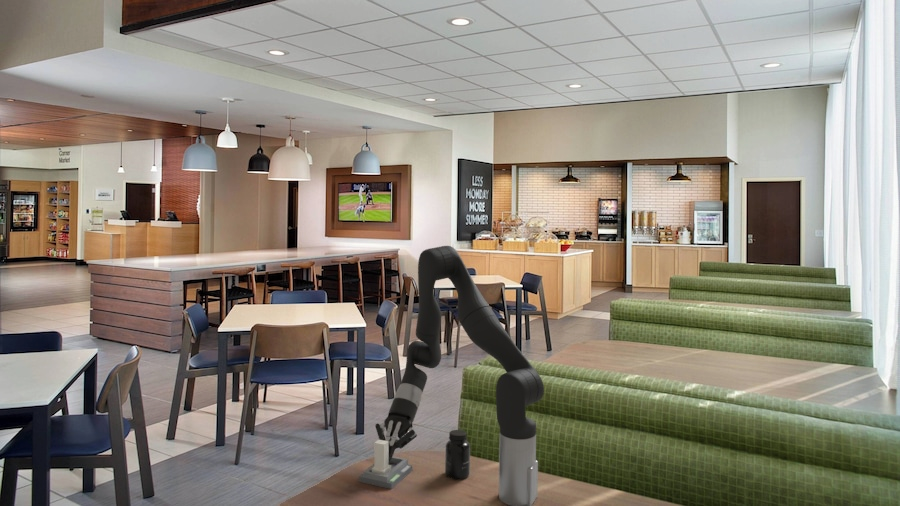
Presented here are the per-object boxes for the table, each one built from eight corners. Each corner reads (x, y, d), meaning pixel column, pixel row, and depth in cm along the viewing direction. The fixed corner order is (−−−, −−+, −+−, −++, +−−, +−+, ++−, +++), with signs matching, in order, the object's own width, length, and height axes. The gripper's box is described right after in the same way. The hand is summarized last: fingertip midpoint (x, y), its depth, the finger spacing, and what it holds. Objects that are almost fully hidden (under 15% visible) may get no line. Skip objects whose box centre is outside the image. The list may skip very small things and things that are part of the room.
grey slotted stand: (412, 470, 171) (412, 460, 171) (391, 489, 160) (391, 478, 160) (381, 464, 175) (381, 454, 175) (358, 481, 164) (358, 471, 164)
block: (391, 471, 166) (391, 440, 166) (384, 477, 163) (383, 445, 162) (379, 469, 168) (379, 438, 167) (371, 475, 164) (371, 443, 163)
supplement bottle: (470, 480, 166) (470, 437, 164) (444, 480, 166) (445, 437, 165) (469, 469, 172) (470, 428, 171) (445, 468, 173) (445, 427, 171)
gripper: (381, 393, 177) (358, 450, 167) (422, 399, 171) (401, 459, 161) (390, 405, 182) (369, 461, 172) (430, 412, 177) (411, 470, 167)
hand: (385, 460), depth 167 cm, fingers closed
